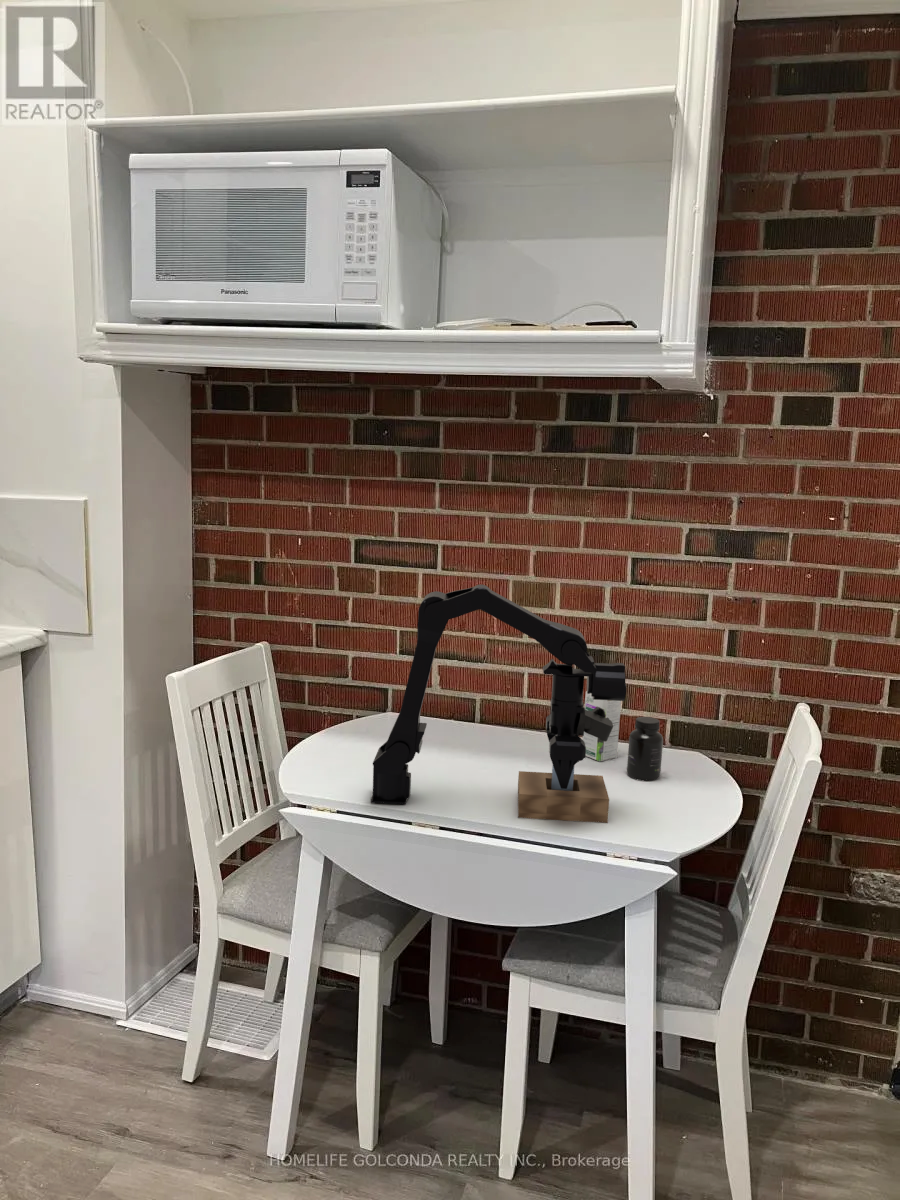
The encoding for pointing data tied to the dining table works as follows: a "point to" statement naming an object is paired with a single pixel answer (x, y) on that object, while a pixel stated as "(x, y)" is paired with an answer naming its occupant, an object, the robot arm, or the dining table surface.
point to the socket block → (562, 798)
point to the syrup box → (609, 748)
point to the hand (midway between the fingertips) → (562, 779)
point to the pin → (556, 784)
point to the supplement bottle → (645, 750)
